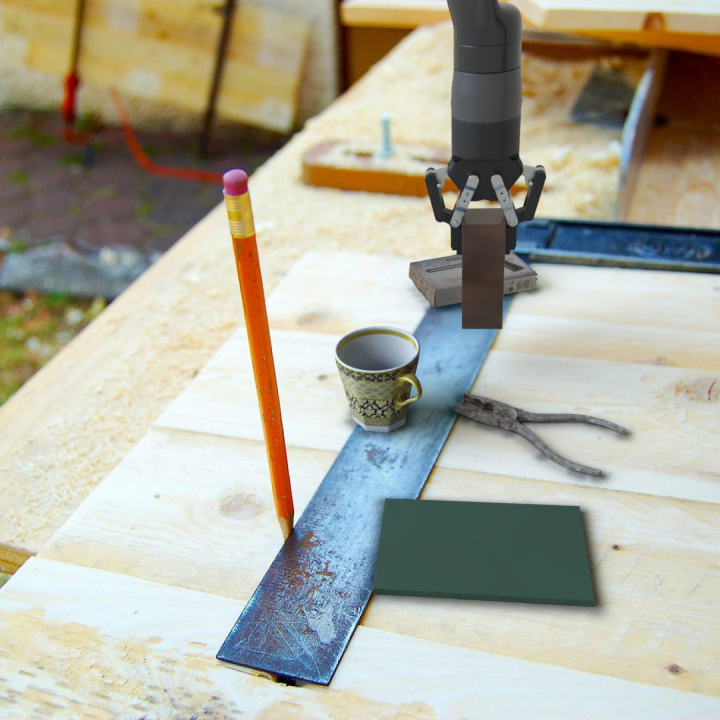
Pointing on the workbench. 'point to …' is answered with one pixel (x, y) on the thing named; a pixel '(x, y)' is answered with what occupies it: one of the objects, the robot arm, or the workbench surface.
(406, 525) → the rubber mat
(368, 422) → the ceramic cup
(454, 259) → the box
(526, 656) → the workbench surface
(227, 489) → the workbench surface
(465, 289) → the walnut block
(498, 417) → the pliers
